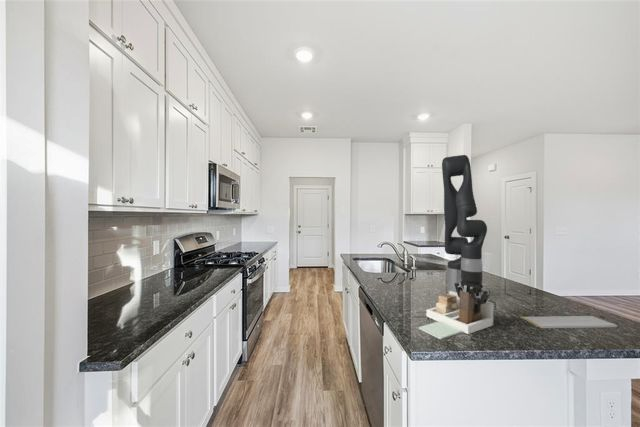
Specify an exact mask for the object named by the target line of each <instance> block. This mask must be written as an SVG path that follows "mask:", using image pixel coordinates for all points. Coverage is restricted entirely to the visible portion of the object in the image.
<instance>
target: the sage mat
mask: <svg viewBox="0 0 640 427" xmlns="http://www.w3.org/2000/svg"><path fill="white" fill-rule="evenodd" d="M418 329H419V330H420V331H423V332H424V333H426V334H429V335H431V336H433V337H435V338H436V339H439V340H444V339H446V338H450V337H453V336H455V335H459V334H463V332H462V331H461V330H458V329H456V328H454V327H451V326H449V325H447V324H444V323H442V322H440V321H435V322H431V323H428V324H425V325H422V326H418Z"/></svg>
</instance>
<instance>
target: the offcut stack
mask: <svg viewBox="0 0 640 427" xmlns="http://www.w3.org/2000/svg"><path fill="white" fill-rule="evenodd" d="M456 303H457V296H455V295H451V294H448V293H444V294H439V295H438V301H437V302H436V304H435V307H436V310H435V312H437V313H440V314H445V313H449V312H452V311H456V310H458V309H456Z"/></svg>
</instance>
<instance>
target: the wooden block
mask: <svg viewBox="0 0 640 427" xmlns="http://www.w3.org/2000/svg"><path fill="white" fill-rule="evenodd" d="M480 295H481V296H482V291H480ZM480 299H481V297H480ZM474 305H475V302H474V298H473V297H472V295H471V294H469V293H468V292H465V291H461V290H460V301H459V307H460V308H459V321H460V322H462V323H465V324H470V323H473V322H476V321H479V320H482V314H481V311H480V312H479V313H477V314H476V313H474ZM480 310H481V308H480Z"/></svg>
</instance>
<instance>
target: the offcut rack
mask: <svg viewBox="0 0 640 427" xmlns="http://www.w3.org/2000/svg"><path fill="white" fill-rule="evenodd" d="M449 294H451V295H455V296H457V303H456V309H458V310H456V311H452V312H449V313H445V314H440V313H437V312H435V310H436V306H435V307H431V308H427V309H425V310H426V318H430V319H432V320H434V321H435V322H438V321H440V322H442V323H444V324H447V325H449V326H451V327H454V328H456V329H458V330H461V331H462V333H465V334H467V335H469V334H473V333H476V332H478V331H481V330H484V329H487V328H489V327H492V326H494V302H489V301H486V303H484V304H481V314H482V320H479V321H476V322H473V323H470V324H465V323H462V322H460V321H459V308H460V307H459V301H460V298H459V297H458V295H457V292H453V291H449Z"/></svg>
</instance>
